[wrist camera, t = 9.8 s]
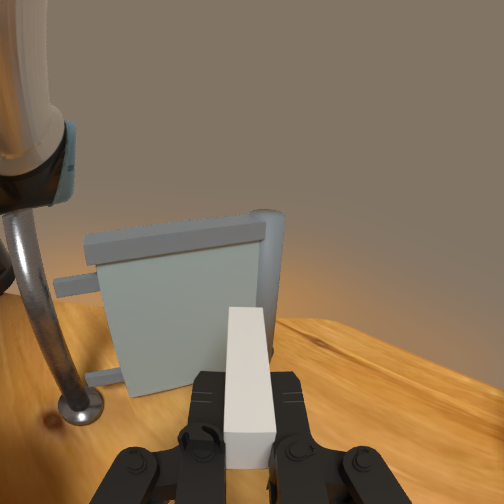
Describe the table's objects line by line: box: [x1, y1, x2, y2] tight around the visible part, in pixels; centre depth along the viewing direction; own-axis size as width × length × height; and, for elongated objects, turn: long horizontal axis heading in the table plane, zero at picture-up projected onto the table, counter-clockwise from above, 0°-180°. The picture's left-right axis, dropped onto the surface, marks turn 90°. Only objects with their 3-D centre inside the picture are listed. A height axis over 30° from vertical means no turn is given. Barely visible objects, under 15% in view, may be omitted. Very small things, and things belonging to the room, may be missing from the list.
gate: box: [53, 209, 285, 398], centre depth 20 cm, size 16×2×14 cm, turn 117°
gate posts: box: [2, 208, 104, 426], centre depth 20 cm, size 18×7×16 cm, turn 117°
